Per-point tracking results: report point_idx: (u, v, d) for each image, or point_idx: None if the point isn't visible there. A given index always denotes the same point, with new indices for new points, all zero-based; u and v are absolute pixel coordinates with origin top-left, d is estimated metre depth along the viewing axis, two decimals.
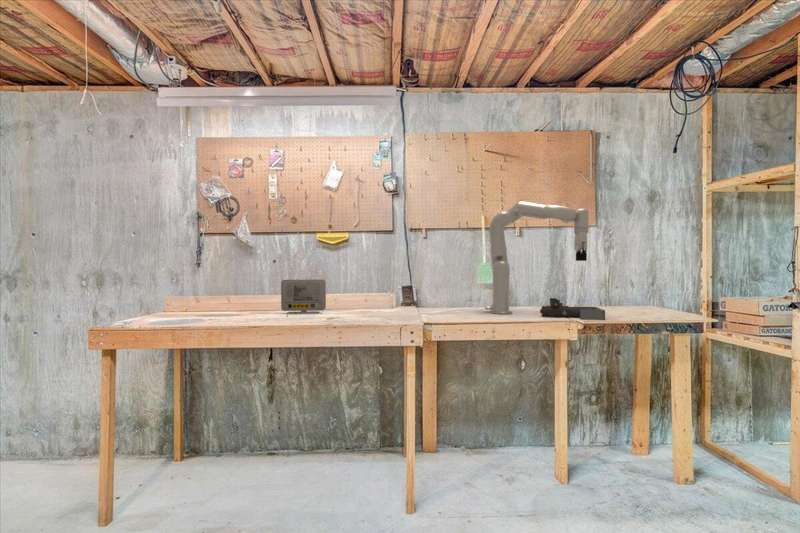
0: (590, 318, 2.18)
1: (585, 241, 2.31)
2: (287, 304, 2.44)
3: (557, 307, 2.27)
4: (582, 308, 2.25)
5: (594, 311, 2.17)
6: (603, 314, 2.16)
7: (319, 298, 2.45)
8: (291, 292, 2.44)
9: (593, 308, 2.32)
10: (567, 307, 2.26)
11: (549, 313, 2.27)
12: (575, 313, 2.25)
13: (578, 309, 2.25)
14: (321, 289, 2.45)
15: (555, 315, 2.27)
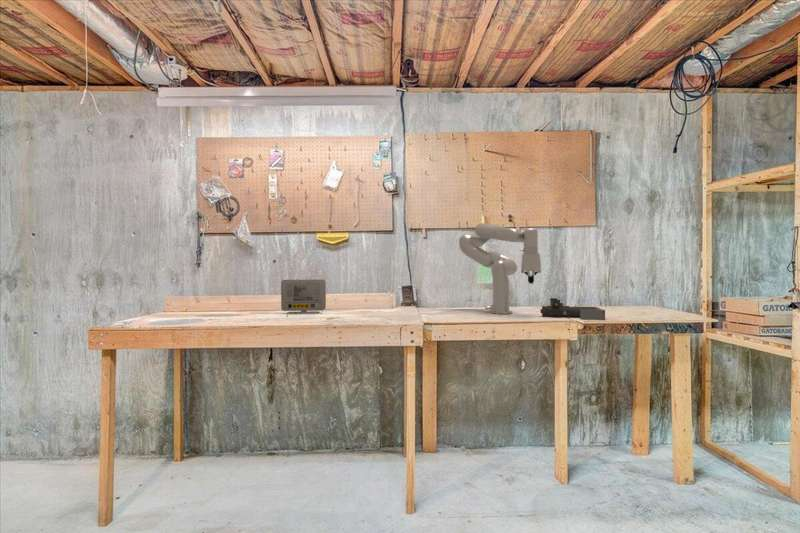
0: (590, 318, 2.18)
1: None
2: (287, 304, 2.44)
3: (557, 307, 2.27)
4: (582, 308, 2.25)
5: (594, 311, 2.17)
6: (603, 314, 2.16)
7: (319, 298, 2.45)
8: (291, 292, 2.44)
9: (593, 308, 2.32)
10: (567, 307, 2.26)
11: (549, 313, 2.27)
12: (575, 313, 2.25)
13: (578, 309, 2.25)
14: (321, 289, 2.45)
15: (555, 315, 2.27)
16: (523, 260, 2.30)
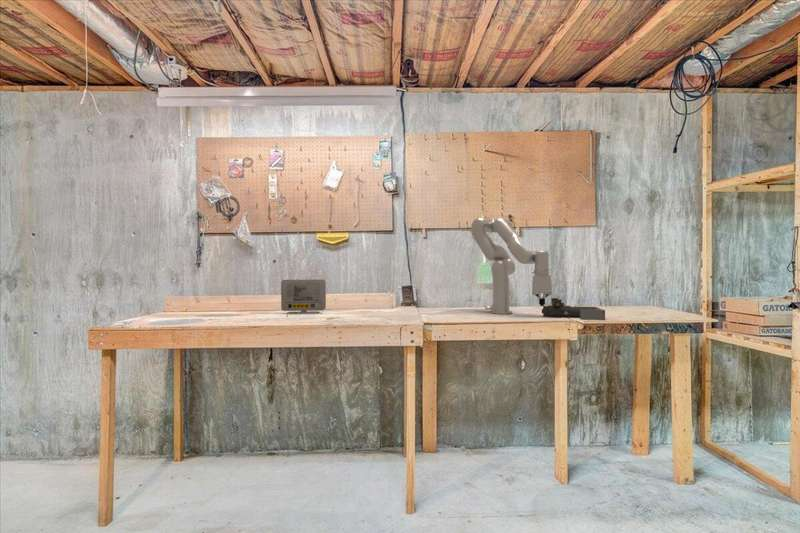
0: (590, 318, 2.18)
1: None
2: (287, 304, 2.44)
3: (559, 307, 2.27)
4: (584, 308, 2.25)
5: (594, 311, 2.17)
6: (603, 314, 2.16)
7: (319, 298, 2.45)
8: (291, 292, 2.44)
9: (593, 308, 2.32)
10: (569, 307, 2.26)
11: (550, 312, 2.27)
12: (577, 313, 2.24)
13: (580, 309, 2.25)
14: (321, 289, 2.45)
15: (556, 315, 2.26)
16: (534, 282, 2.29)
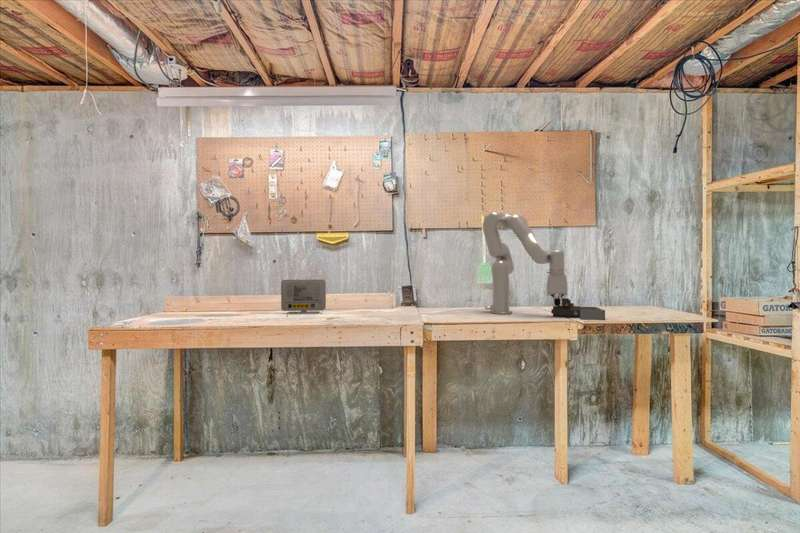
0: (590, 318, 2.18)
1: None
2: (287, 304, 2.44)
3: (568, 307, 2.26)
4: (594, 308, 2.23)
5: (594, 311, 2.17)
6: (603, 314, 2.16)
7: (319, 298, 2.45)
8: (291, 292, 2.44)
9: None
10: (578, 307, 2.25)
11: (559, 313, 2.27)
12: None
13: (590, 309, 2.23)
14: (321, 289, 2.45)
15: (565, 315, 2.26)
16: (549, 282, 2.27)
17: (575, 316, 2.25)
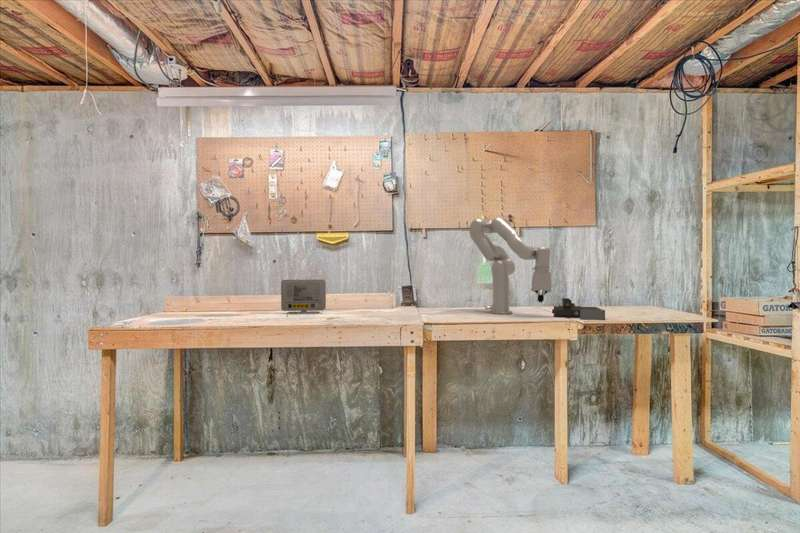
0: (590, 318, 2.18)
1: None
2: (287, 304, 2.44)
3: (569, 307, 2.26)
4: (595, 308, 2.23)
5: (594, 311, 2.17)
6: (603, 314, 2.16)
7: (319, 298, 2.45)
8: (291, 292, 2.44)
9: None
10: (579, 307, 2.25)
11: (560, 313, 2.26)
12: None
13: (590, 309, 2.23)
14: (321, 289, 2.45)
15: (566, 315, 2.26)
16: (534, 279, 2.29)
17: (576, 316, 2.25)
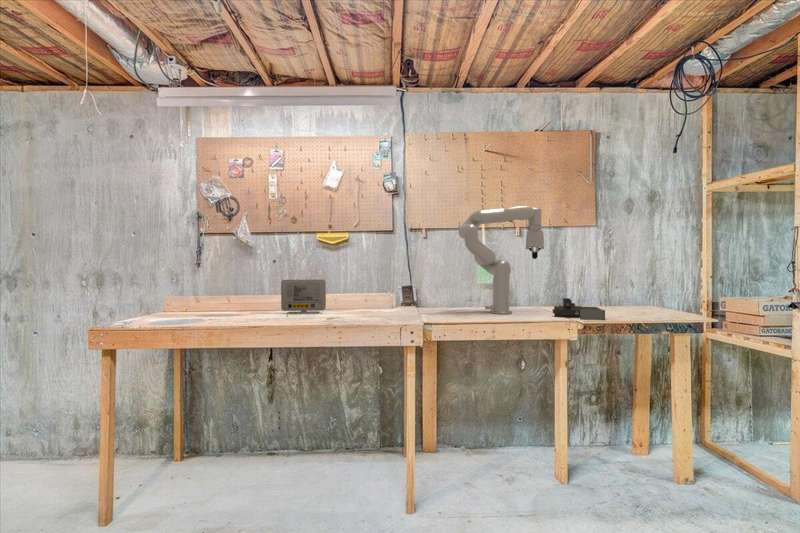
0: (590, 318, 2.18)
1: None
2: (287, 304, 2.44)
3: (569, 307, 2.27)
4: (595, 308, 2.23)
5: (594, 311, 2.17)
6: (603, 314, 2.16)
7: (319, 298, 2.45)
8: (291, 292, 2.44)
9: None
10: (580, 307, 2.25)
11: (561, 313, 2.27)
12: None
13: (591, 309, 2.23)
14: (321, 289, 2.45)
15: (567, 315, 2.26)
16: (528, 237, 2.48)
17: (576, 316, 2.25)
